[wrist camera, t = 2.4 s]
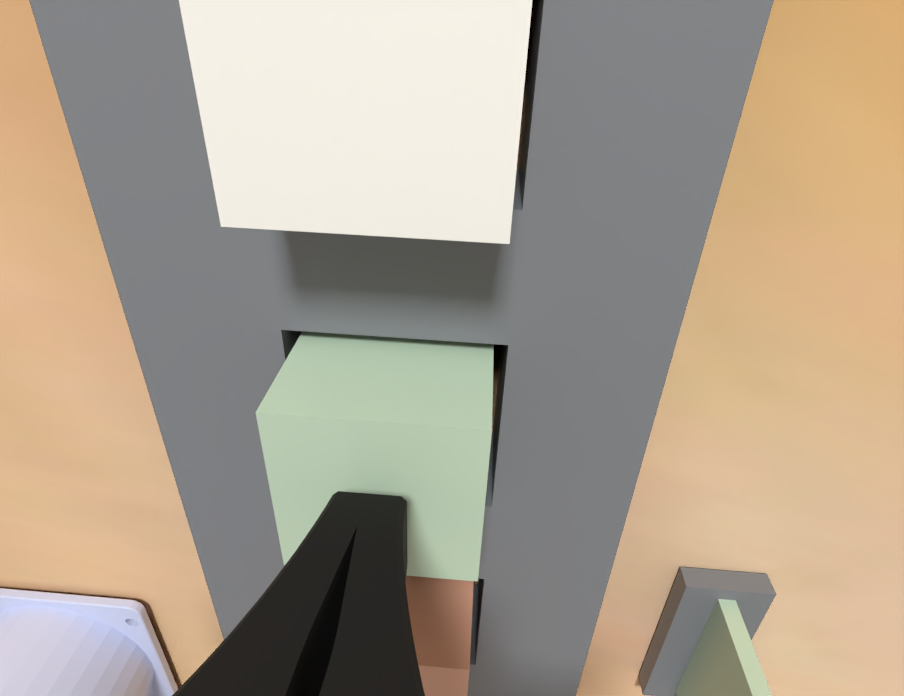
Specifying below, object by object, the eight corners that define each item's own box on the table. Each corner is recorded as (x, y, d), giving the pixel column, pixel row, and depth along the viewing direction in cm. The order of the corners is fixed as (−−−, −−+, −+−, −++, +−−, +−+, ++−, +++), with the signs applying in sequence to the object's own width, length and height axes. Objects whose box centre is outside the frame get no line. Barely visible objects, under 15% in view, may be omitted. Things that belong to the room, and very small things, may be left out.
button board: (561, 639, 23) (568, 719, 21) (266, 613, 24) (239, 688, 21) (780, -292, 9) (886, -398, 7) (59, -307, 10) (-96, -410, 7)
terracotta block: (468, 625, 20) (462, 751, 17) (346, 614, 21) (315, 736, 17) (475, 542, 18) (469, 670, 15) (337, 531, 18) (300, 654, 15)
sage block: (482, 458, 16) (477, 581, 13) (328, 446, 16) (283, 565, 13) (494, 322, 14) (491, 430, 10) (314, 310, 14) (255, 412, 11)
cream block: (507, 171, 12) (509, 243, 9) (298, 160, 12) (220, 226, 9) (529, -94, 10) (544, -138, 6) (270, -103, 10) (150, -151, 6)
